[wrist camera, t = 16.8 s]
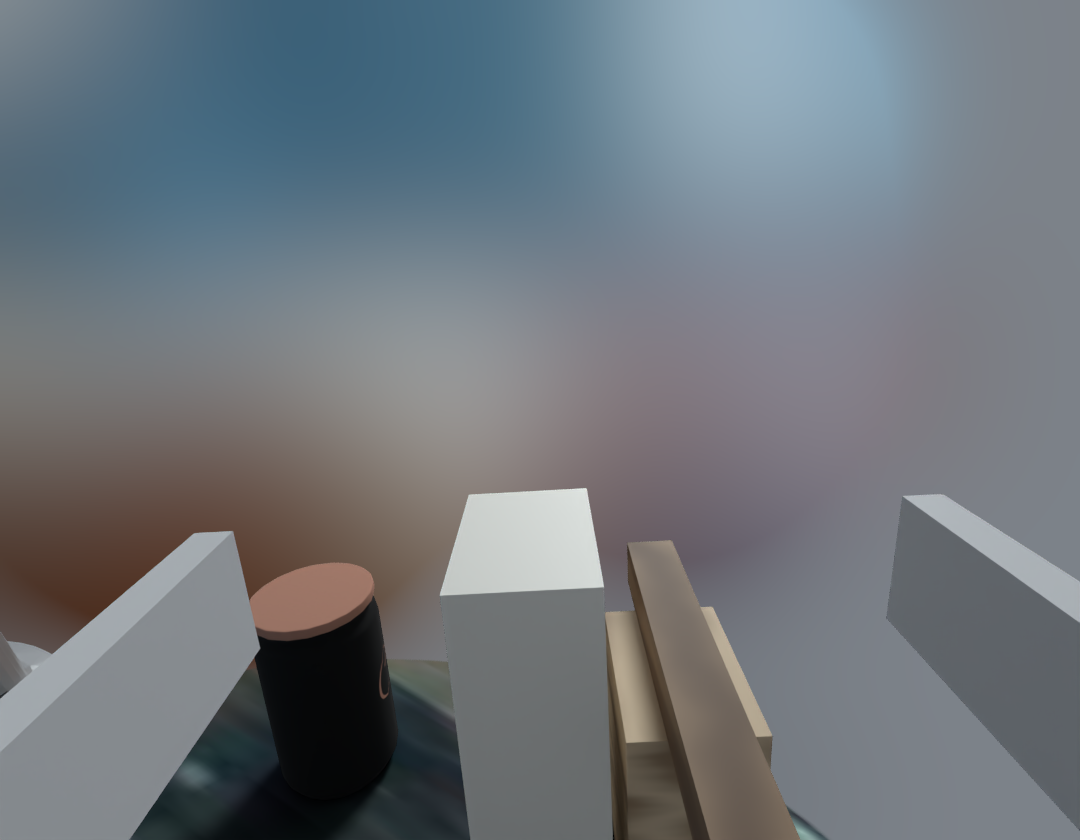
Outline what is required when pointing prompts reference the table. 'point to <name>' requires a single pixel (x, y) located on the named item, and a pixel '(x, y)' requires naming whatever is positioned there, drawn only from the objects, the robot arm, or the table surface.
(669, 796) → the oak block
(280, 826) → the table surface
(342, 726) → the coffee jar
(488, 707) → the white block
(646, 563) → the walnut bar
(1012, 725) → the robot arm
